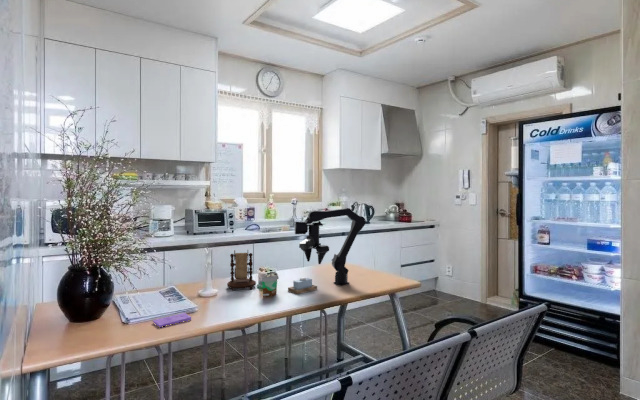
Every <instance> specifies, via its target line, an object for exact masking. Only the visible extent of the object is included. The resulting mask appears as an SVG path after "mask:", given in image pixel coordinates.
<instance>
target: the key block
mask: <svg viewBox="0 0 640 400" xmlns="http://www.w3.org/2000/svg"><path fill="white" fill-rule="evenodd" d="M312 285H313V279H312V278H309V277H300V278H299V279H296V280H293V286H292V287H293V289H296V290H299V289H304V288H308V287H312Z"/></svg>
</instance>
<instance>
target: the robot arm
mask: <svg viewBox="0 0 640 400" xmlns="http://www.w3.org/2000/svg"><path fill="white" fill-rule="evenodd" d="M344 216H346V217H347V218H349V219H350V220H351V224H350V230H349V231H348V234H347V236H346V238H345V240H344V242H343V244H342V246H341V249H340V251H339V252H338V253H337V254H336V253H334V255H333V258H332V259H331V266H332V267H333V269H335V271H336V272H335V275H334V282H333V284H335V285H339V286H344V285H349V284H350V282H349V281H348V278H349V277H348V274H349V272H350V271H349V269H348V268H347V267H346V262H347V257H348V254H349V252H350V250H351V248H352V246H353V243H354V242H355V240H356V237H357V236H358V234H359V232H360V231H362V229H363V228H364V226H366V223H367V222H366V218H365V217H364V216H361V215H358V214H357V213H356V212H354V210H352V209H351V208H350V207H344V208H338V209H330V210H317V209H316V210H314V209H313V210H310V211H309V212H308V213H307V218H306V219H305V220H304V221H295V223H294V235H306V234H307V233H308V235H306V238H305V239H304V240H302V241H300V242H299V244H298V245H299V246H298V247H299V249H300V250H301V251H303V252H304V255H305V257H306V261H307V262H310V260H311V256H312V251H313V250H315V251H316V252H315V253H316V254H317V263H318V265H321V264H322V262H323V260H324V257H325V255H326V254H327V253H328V252H330V246H329V245H327V244H326V245H325V244H322V243H320V239H321V238H322V235H320V226H321V227H322V226H324V224H323V223H322V222H321V221H323V220H325V219H328V218H337V217H344ZM321 244H322V245H321Z"/></svg>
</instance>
